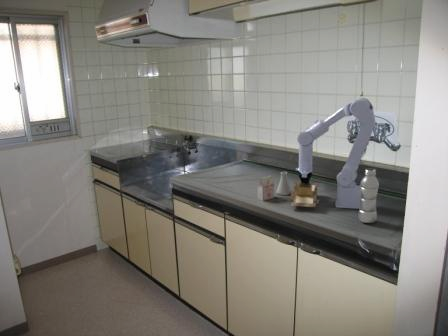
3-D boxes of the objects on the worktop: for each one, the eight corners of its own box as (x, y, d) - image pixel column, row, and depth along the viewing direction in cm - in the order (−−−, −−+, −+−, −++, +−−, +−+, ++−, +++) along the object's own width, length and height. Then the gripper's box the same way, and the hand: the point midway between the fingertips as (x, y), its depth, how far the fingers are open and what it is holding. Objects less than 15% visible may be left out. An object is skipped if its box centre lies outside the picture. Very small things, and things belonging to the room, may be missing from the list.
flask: (281, 190, 181) (281, 169, 179) (294, 192, 177) (294, 171, 175) (273, 193, 176) (273, 173, 174) (286, 196, 172) (286, 175, 169)
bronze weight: (311, 191, 164) (312, 182, 163) (311, 196, 159) (311, 187, 157) (297, 190, 166) (297, 182, 164) (296, 195, 160) (296, 186, 159)
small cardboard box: (317, 188, 172) (317, 182, 171) (315, 207, 152) (315, 200, 151) (294, 187, 174) (294, 181, 174) (289, 205, 154) (289, 199, 153)
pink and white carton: (257, 199, 170) (257, 177, 167) (268, 195, 173) (268, 174, 171) (262, 201, 167) (262, 179, 164) (274, 197, 170) (274, 176, 168)
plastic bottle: (357, 224, 139) (360, 171, 134) (358, 217, 145) (361, 166, 140) (376, 226, 136) (380, 172, 132) (376, 219, 142) (380, 167, 138)
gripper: (297, 155, 170) (296, 184, 174) (294, 162, 157) (294, 193, 160) (313, 155, 169) (312, 184, 172) (312, 163, 155) (311, 194, 158)
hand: (304, 189), depth 166 cm, fingers closed
